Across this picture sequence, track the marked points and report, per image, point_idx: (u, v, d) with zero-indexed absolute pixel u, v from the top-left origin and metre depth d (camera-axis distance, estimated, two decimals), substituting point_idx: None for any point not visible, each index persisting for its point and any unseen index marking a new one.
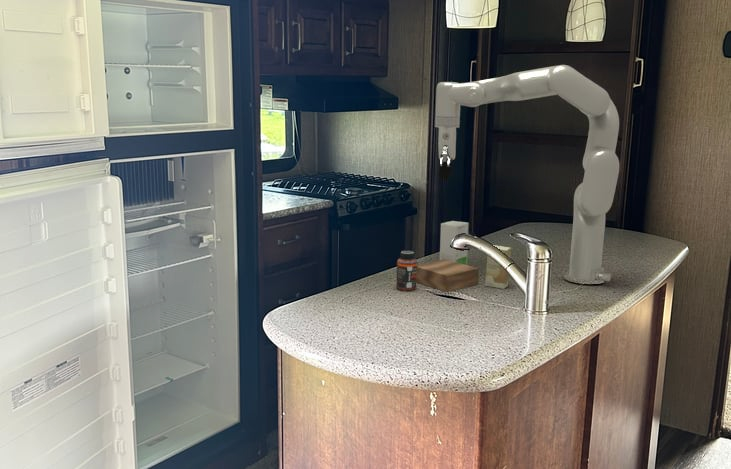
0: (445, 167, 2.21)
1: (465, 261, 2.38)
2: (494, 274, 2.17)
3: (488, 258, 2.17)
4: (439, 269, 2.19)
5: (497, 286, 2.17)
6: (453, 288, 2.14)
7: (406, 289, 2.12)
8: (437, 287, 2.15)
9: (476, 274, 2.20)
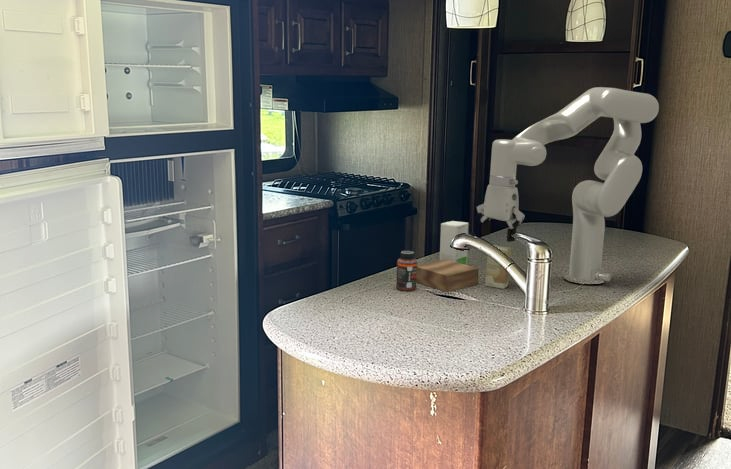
0: (515, 229, 2.11)
1: (465, 261, 2.38)
2: (494, 274, 2.17)
3: (488, 258, 2.17)
4: (439, 269, 2.19)
5: (497, 286, 2.17)
6: (453, 288, 2.14)
7: (406, 289, 2.12)
8: (437, 287, 2.15)
9: (476, 274, 2.20)
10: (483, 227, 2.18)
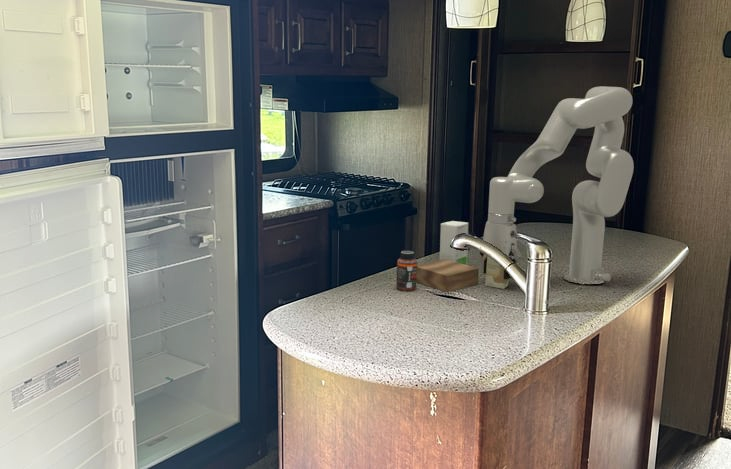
0: None
1: (465, 261, 2.38)
2: (494, 274, 2.17)
3: (488, 258, 2.17)
4: (439, 269, 2.19)
5: (497, 286, 2.17)
6: (453, 288, 2.14)
7: (406, 289, 2.12)
8: (437, 287, 2.15)
9: (476, 274, 2.20)
10: (485, 265, 2.20)
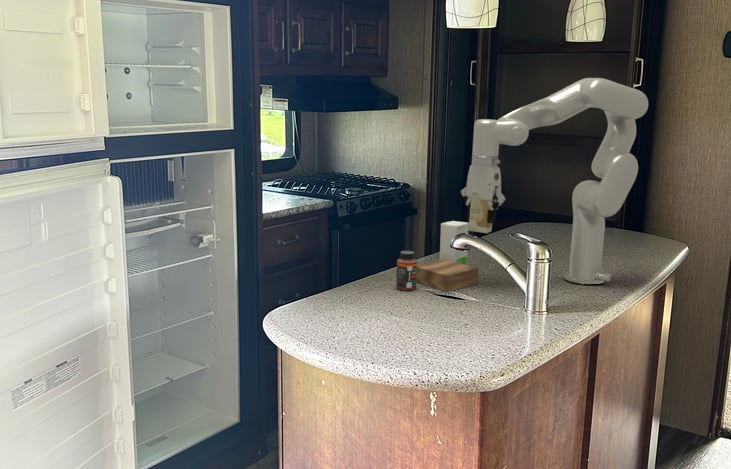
0: (495, 211, 2.12)
1: (465, 261, 2.38)
2: (477, 218, 2.14)
3: (472, 202, 2.14)
4: (439, 269, 2.19)
5: (480, 231, 2.14)
6: (453, 288, 2.14)
7: (406, 289, 2.12)
8: (437, 287, 2.15)
9: (476, 274, 2.20)
10: (468, 210, 2.17)
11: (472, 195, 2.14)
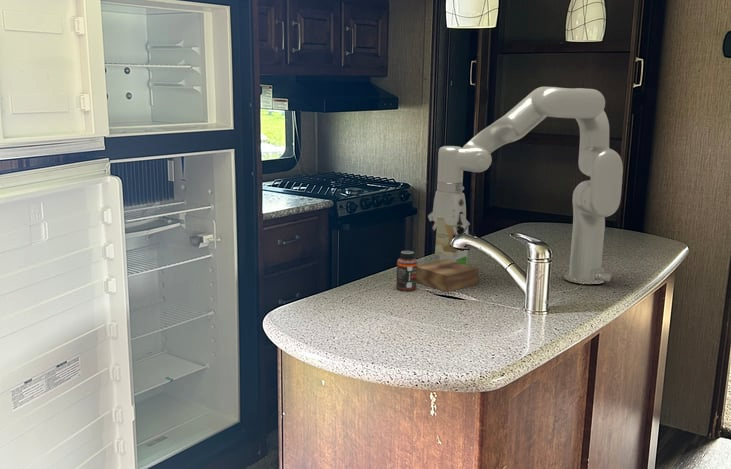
0: None
1: (465, 261, 2.38)
2: (443, 243, 2.17)
3: (437, 227, 2.17)
4: (439, 269, 2.19)
5: (446, 255, 2.18)
6: (453, 288, 2.14)
7: (406, 289, 2.12)
8: (437, 287, 2.15)
9: (476, 274, 2.20)
10: (435, 235, 2.21)
11: (438, 220, 2.17)
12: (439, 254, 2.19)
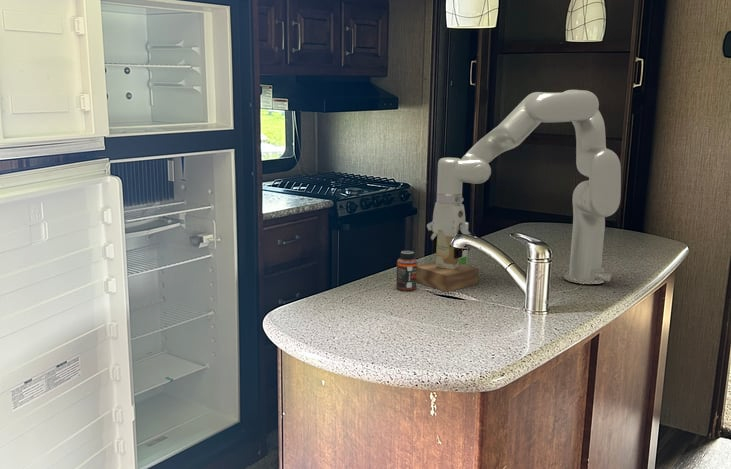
0: None
1: (465, 261, 2.38)
2: (444, 255, 2.18)
3: (438, 239, 2.18)
4: (439, 269, 2.19)
5: (447, 267, 2.18)
6: (453, 288, 2.14)
7: (406, 289, 2.12)
8: (437, 287, 2.15)
9: (476, 274, 2.20)
10: (433, 244, 2.22)
11: (438, 232, 2.18)
12: (439, 266, 2.20)
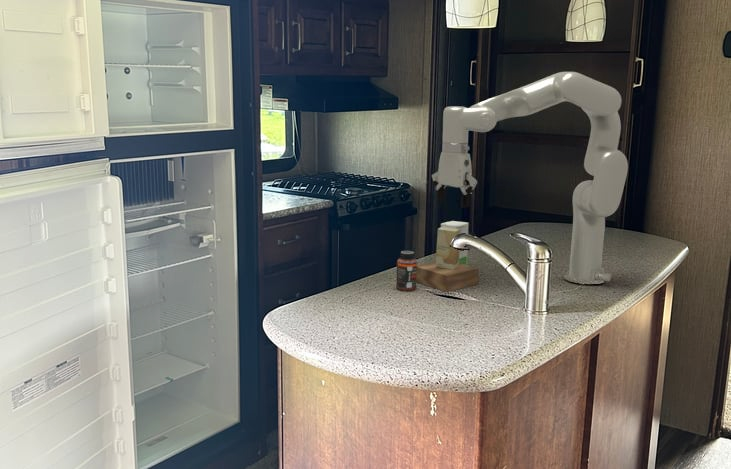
0: (468, 195, 2.13)
1: (465, 261, 2.38)
2: (444, 255, 2.18)
3: (438, 239, 2.18)
4: (439, 269, 2.19)
5: (447, 267, 2.18)
6: (453, 288, 2.14)
7: (406, 289, 2.12)
8: (437, 287, 2.15)
9: (476, 274, 2.20)
10: (438, 195, 2.20)
11: (438, 232, 2.18)
12: (439, 266, 2.20)
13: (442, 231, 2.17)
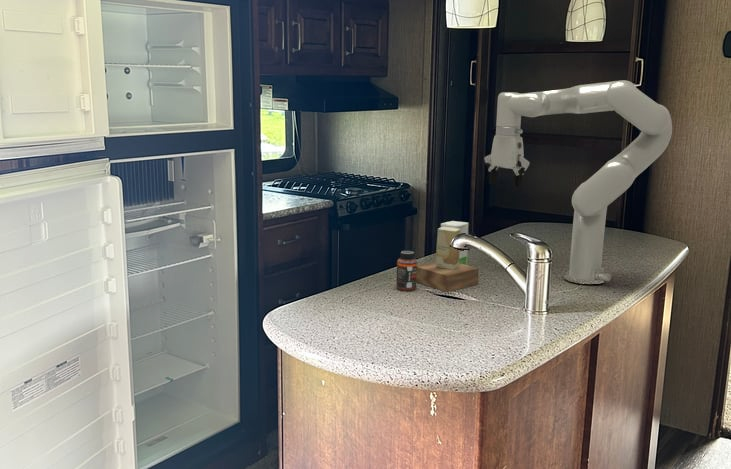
0: (520, 176, 2.26)
1: (465, 261, 2.38)
2: (444, 255, 2.18)
3: (438, 239, 2.18)
4: (439, 269, 2.19)
5: (447, 267, 2.18)
6: (453, 288, 2.14)
7: (406, 289, 2.12)
8: (437, 287, 2.15)
9: (476, 274, 2.20)
10: (491, 176, 2.33)
11: (438, 232, 2.18)
12: (439, 266, 2.20)
13: (442, 231, 2.17)
